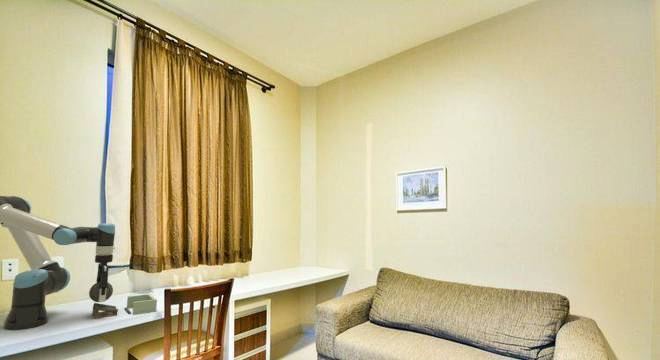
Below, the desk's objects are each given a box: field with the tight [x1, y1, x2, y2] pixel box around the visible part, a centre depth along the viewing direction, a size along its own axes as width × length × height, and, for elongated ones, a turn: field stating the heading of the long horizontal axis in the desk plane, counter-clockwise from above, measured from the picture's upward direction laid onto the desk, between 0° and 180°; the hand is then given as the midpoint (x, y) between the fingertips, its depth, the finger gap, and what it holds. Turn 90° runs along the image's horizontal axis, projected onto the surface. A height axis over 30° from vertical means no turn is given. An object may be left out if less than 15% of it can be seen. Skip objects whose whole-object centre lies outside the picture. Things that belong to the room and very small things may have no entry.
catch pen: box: [126, 293, 158, 316], centre depth 187 cm, size 11×15×6 cm
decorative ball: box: [88, 282, 114, 303], centre depth 175 cm, size 10×10×10 cm
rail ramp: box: [91, 302, 119, 319], centre depth 176 cm, size 10×9×6 cm
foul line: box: [124, 306, 132, 315], centre depth 182 cm, size 1×11×1 cm, turn 40°
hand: (100, 299), depth 175 cm, fingers closed on decorative ball, 10 cm apart
